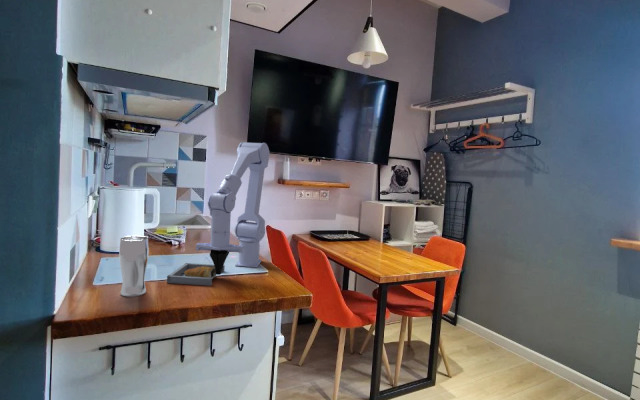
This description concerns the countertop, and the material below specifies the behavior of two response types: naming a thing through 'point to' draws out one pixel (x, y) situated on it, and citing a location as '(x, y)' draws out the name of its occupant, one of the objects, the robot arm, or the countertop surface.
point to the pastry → (201, 272)
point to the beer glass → (133, 264)
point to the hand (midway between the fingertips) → (218, 273)
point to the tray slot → (179, 279)
